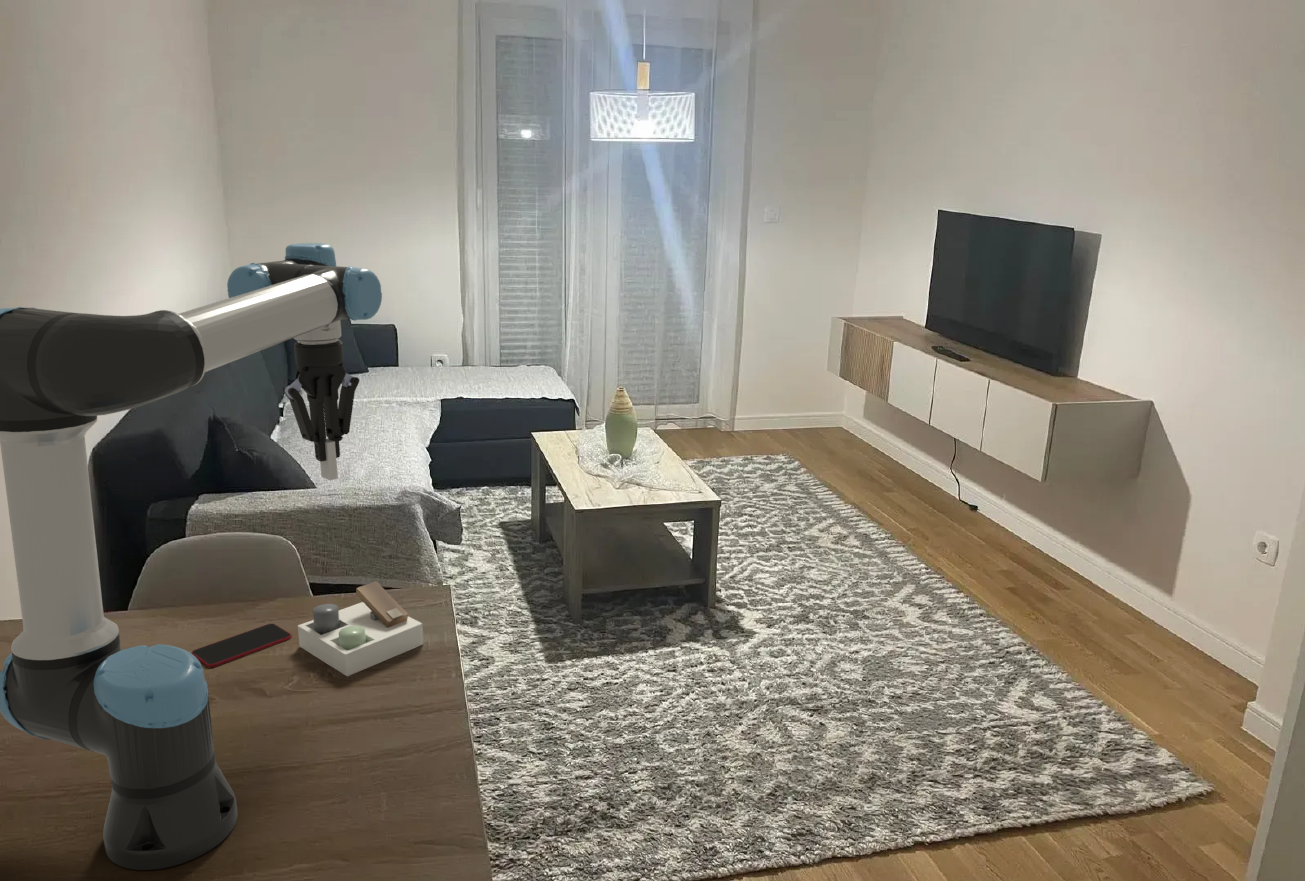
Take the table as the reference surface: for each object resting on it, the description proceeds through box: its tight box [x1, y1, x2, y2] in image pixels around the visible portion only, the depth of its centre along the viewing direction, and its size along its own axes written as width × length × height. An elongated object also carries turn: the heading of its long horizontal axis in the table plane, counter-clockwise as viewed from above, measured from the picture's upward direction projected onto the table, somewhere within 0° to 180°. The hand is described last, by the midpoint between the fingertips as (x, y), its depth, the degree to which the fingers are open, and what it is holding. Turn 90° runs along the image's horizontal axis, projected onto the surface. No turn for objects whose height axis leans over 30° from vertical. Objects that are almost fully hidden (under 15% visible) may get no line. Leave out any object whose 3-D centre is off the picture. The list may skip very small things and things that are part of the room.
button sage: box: [339, 626, 366, 651], centre depth 164 cm, size 4×4×4 cm
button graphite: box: [312, 603, 340, 635], centre depth 169 cm, size 4×4×4 cm
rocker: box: [355, 580, 409, 628], centre depth 172 cm, size 4×10×2 cm, turn 48°
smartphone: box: [191, 623, 293, 668], centre depth 170 cm, size 7×1×15 cm
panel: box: [297, 601, 424, 677], centre depth 170 cm, size 15×15×5 cm
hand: (329, 477), depth 166 cm, fingers closed
